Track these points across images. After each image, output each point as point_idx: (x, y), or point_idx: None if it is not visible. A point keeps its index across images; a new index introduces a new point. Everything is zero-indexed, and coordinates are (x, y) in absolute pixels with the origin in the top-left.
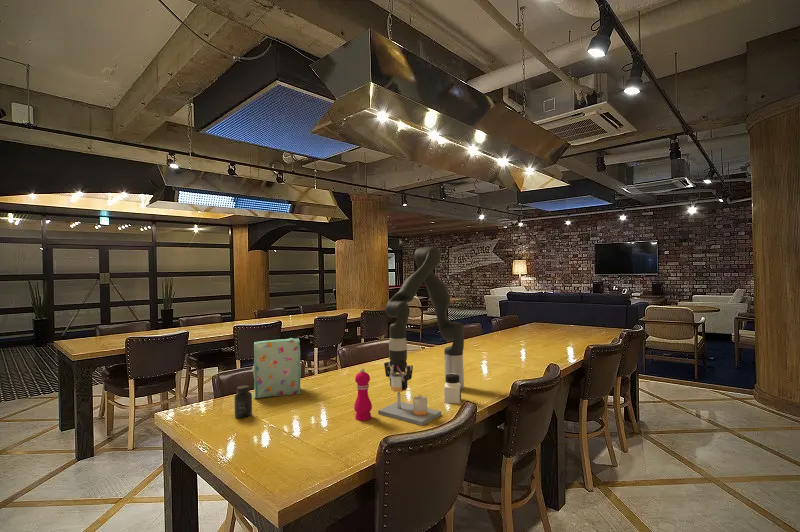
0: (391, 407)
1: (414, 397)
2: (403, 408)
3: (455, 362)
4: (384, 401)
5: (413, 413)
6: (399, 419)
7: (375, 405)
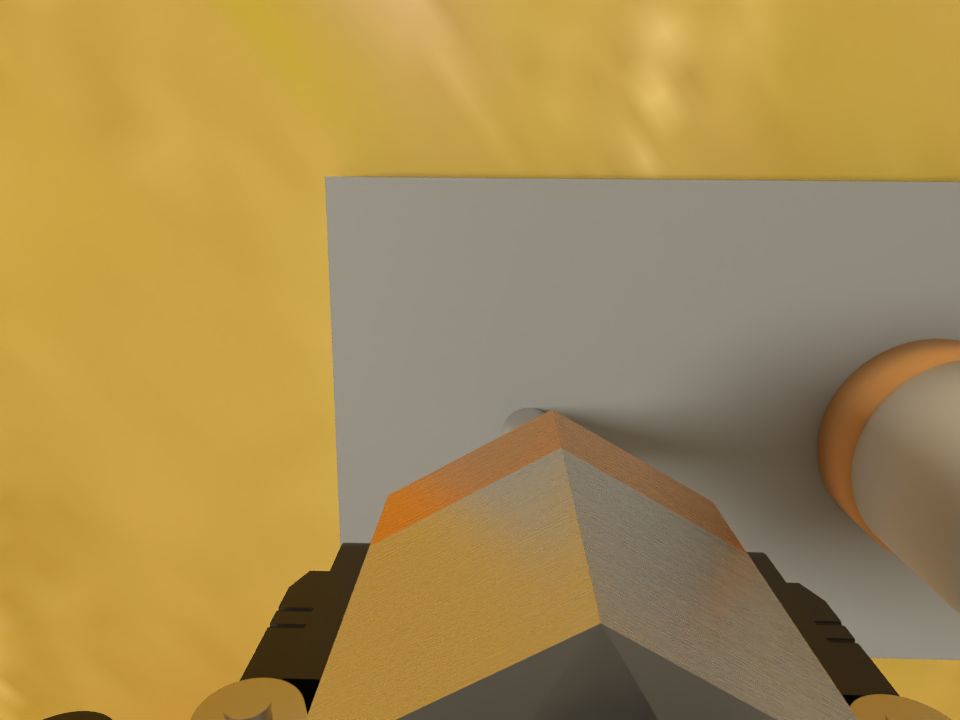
0: (420, 471)
1: (958, 553)
2: (595, 410)
3: None
4: (56, 185)
5: (849, 516)
6: None
7: (91, 400)
